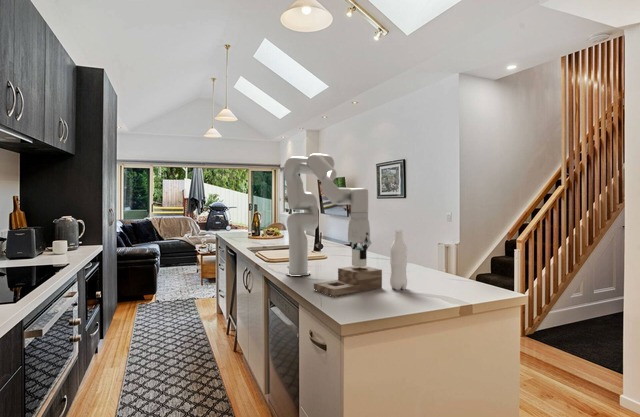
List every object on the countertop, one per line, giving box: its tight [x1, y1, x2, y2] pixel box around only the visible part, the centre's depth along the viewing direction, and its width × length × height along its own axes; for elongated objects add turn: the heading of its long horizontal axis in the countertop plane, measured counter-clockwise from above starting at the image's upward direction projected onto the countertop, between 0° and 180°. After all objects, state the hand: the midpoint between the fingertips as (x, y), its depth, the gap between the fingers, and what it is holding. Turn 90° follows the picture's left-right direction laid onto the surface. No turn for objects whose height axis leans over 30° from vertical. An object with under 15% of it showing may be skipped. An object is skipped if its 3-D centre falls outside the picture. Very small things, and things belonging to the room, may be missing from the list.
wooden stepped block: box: [313, 265, 383, 298], centre depth 165 cm, size 14×26×8 cm, turn 125°
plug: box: [351, 246, 368, 267], centre depth 168 cm, size 4×4×8 cm
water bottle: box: [389, 229, 408, 291], centre depth 165 cm, size 7×7×25 cm
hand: (359, 257), depth 168 cm, fingers closed on plug, 4 cm apart
